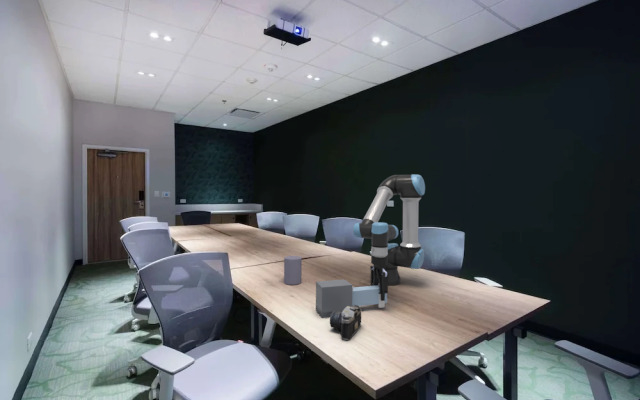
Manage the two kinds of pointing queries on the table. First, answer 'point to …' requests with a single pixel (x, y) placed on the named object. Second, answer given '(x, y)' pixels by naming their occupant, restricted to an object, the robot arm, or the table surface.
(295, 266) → the container
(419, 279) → the table surface
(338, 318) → the camera
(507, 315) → the table surface
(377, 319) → the table surface
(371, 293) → the tall blue-grey block
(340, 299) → the dispenser
